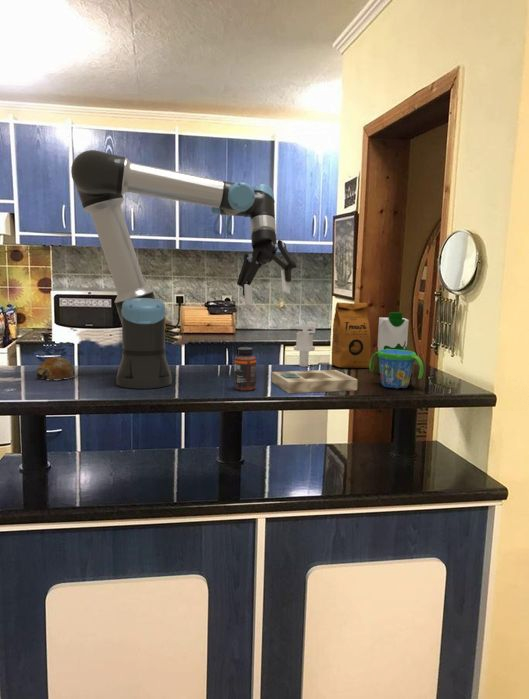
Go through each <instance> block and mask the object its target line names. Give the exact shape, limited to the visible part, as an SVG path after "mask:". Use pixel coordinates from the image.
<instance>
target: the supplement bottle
mask: <svg viewBox="0 0 529 699" xmlns="http://www.w3.org/2000/svg"><path fill="white" fill-rule="evenodd" d="M253 349H254V348H253V347H248V346H241V347H238V348H237V354H236V355H235V356H234V361H233V362H234V363H233V364H234V366H233V368H234V369H233V370H234V372H233V374H234V375H233V376H234V380H233V382H234V383H233V384H234V386H233V387H234V389H235V390H237V391H241V392H243V391H244V392H246V391H247V392H249V391H253V390H255V389H256V387H257V358H256V356H255V355H254V354H253V351H254V350H253Z"/></svg>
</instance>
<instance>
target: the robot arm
mask: <svg viewBox="0 0 529 699" xmlns="http://www.w3.org/2000/svg"><path fill="white" fill-rule="evenodd" d="M70 173H71V178H72V181H73V183H74V186H75V188H76V190H77V193H78V195H79V199H80V202H81V205H82V207H83V210H84V211H86V212H87V213H89V214H90V216H91V218H92V221H93V225H94V228H95V231H96V234H97V236H98V239H99V242H100V247H101V248H102V252H103V254H104V255H103V256H104V258H105V261H106V264H107V266H108V270H109V273H110V275H111V279H112V282H113V285H114V288H115V291H116V294H117V296H116V298H115V300H114V304H115V307H116V310H117V314H118V316H119V320H120V323H121V329H122V330H121V331H122V332H121V338H122V341H121V342H122V345H121V346H122V357H121V360H120V364H119V366H118V370H117V374H116V377H115V378H116V381H115V382H116V384H115V385H117V386H119V387H121V388H126V389H127V388H128V389H138V390H139V389H141V390H142V389H146V390H147V389H157V388H158V389H159V388H162V387H163V388H164V387H167V386H170V385H171V384H172V380H173V379H172V372H171V370H170V366H169V364H168V360H167V357H166V315H167V311H166V306H165V303H164V302H163V301H162V300H161V299H156V296H155V294H154V291H153V289H151V288H150V287H148V286H147V285H146V283H145V279H144V276H143V273H142V270H141V267H140V264H139V261H138V257H137V254H136V251H135V248H134V244H133V241H132V239H131V235H130V231H129V229H128V226H127V222H126V220H125V217H124V213H123V210H122V203H123V202H124V199H125V198H124V194H126V193H131V194H132V193H133V194H138V195H144V196H150V197H154V198H160V199H166V200H171V201H176V202H178V201H179V202H183V203H188V204H195V205H199V206H204V207H209V208H210V211H211V213H212V214H216V215H220V216H232V217H233V216H234V217H244V218H250V233H251V235H250V236H251V237H250V240H251V247H252V252H251V253H250V254H248V253H245V254H244V256H243V263H242V266H241V270H240V273H239V275H238V278H237V282H236V285H238V286H239V287H242V295H243V297H244V305H245V306H247V307H249V308H253V307H254V306H253V287H252V286H251V284H252V282H253V280H254V278H255V276H256V274H257V273H258V271H259V269H261V268H262V266H264V265H266V264H267V263H271V262H272V261H274V262H275V263H276V264H278V266H280V267H281V268H282V269H281V270H280V272H281V291H282V293H284V294H286V295H290V294H291V287H290V286H291V285H290V282H292V270H293V269H297V267H298V266H297V264H296V262H295V260H294V258H293V257H292V256H291V254H290V253H289V250H288V249H287V245H286V242H284V241H282V240H281V239H278V240H277V233H276V232H277V229H276V228H277V227H276V226H277V224H276V215H275V214H276V211H275V203H276V201H275V196H274V190H273V189H272V187H270V186H269V185H267V184H262V183H260V184H256V185H253V186H251V185H250V184H249V183H247V182H243V181H241V182H230V181H224V180H220V179H216V178H210V177H205V176H201V175H196V174H195V175H194V174H190V173H185V172H180V171H175V170H170V169H165V168H161V167H156V166H151V165H144V164H139V163H134V162H131V160H129V158H128V157H125V156H120V155H115V154H112V153H108V152H105V151H100V150H97V149H96V150H94V149H92V150H91V149H90V150H85V151H82V152H81V153H79V154H78V155H77V156H75V158H74V160H73V161H72V164H71V169H70ZM278 250H279V252H280V254H281V255H282V257H283V258H284V260H285V261H286V263H285V262H284V261H283V260H282V259H281V257H280V256H278V255H276V253H277V251H278Z"/></svg>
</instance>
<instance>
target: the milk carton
mask: <svg viewBox="0 0 529 699" xmlns="http://www.w3.org/2000/svg"><path fill="white" fill-rule="evenodd" d="M409 321H410V320H409V319H408V318H404V317H403V312H401V311H399V312H398V311H389V313H388V317H379V318H378V329H377V330H378V332H377V350H376V352H378V351H379V350H382V349H398V350H407V351H408V338H409V337H408V335H409ZM376 367H377V370H376V373H377V374H379V375H380V362H379V357H378V354H377V355H376Z"/></svg>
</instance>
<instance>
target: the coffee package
mask: <svg viewBox="0 0 529 699" xmlns="http://www.w3.org/2000/svg"><path fill="white" fill-rule="evenodd" d="M367 304H368V303H367V302H354V303H353V302H352V303H351V302H336V304H335V310H334V312H335V313H334V318H333V322H332V323H333V324H332V342H331V365H332V366H335V367H338V368H342V369H363V368H364V369H365V368H366V369H368V368H369V364H370V360H371V346H372V345H371V343H372V342H371V339H372V337H371V329H370V321H369V318H368V311H367V306H368V305H367Z"/></svg>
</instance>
